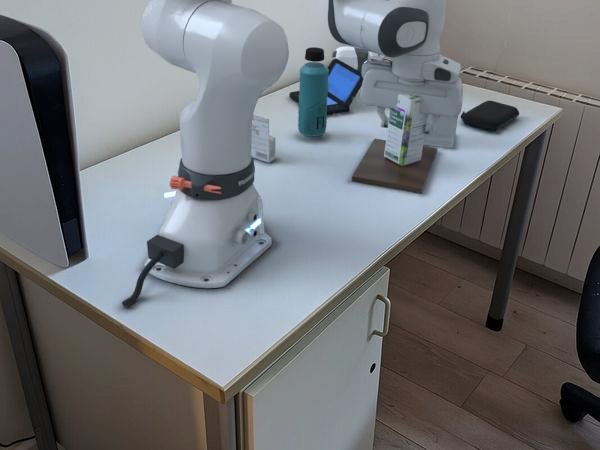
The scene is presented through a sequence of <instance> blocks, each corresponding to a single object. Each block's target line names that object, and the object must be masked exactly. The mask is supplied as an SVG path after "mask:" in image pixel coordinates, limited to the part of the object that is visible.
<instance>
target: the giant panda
mask: <svg viewBox="0 0 600 450" xmlns="http://www.w3.org/2000/svg"><path fill="white" fill-rule="evenodd" d="M331 58H333V59H335V58H336V59H338V60H340V61H342V62H344V63H345V64H347V65H349V66H351V67H353V68H354V69H356V70H358V71H360V72H361V73H362V65H363V63H364V62H365V61H367V60H370V59H372V58H374V59H377V60H385V58H386V57H385V56H382V55H379V54H376V53H373V52H369V51H367V50H364V49H361V48H359V47H355V46H349V45H346V46H340V47H337V48H336V49H335V50H334V51H332V55H331ZM368 63H370V62H368Z"/></svg>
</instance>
